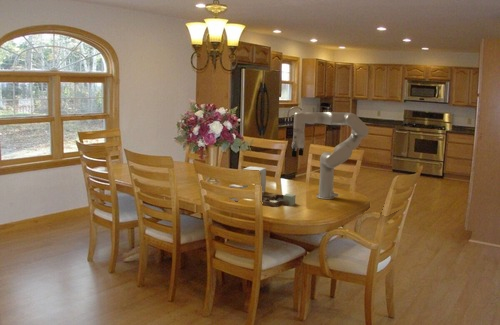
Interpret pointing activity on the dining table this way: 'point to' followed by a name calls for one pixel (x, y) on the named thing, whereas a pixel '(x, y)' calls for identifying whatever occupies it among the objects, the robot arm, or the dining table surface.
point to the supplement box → (263, 176)
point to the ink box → (235, 187)
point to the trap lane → (277, 198)
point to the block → (289, 199)
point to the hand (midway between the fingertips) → (297, 156)
